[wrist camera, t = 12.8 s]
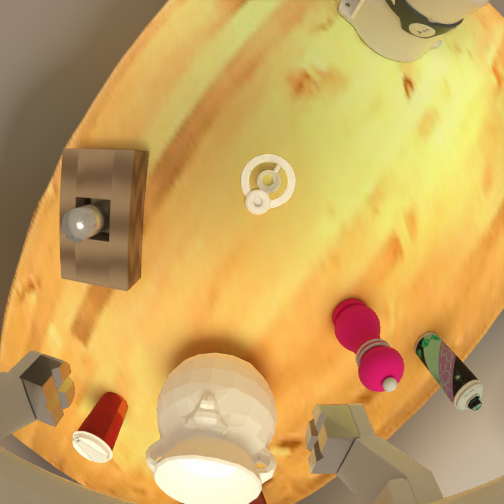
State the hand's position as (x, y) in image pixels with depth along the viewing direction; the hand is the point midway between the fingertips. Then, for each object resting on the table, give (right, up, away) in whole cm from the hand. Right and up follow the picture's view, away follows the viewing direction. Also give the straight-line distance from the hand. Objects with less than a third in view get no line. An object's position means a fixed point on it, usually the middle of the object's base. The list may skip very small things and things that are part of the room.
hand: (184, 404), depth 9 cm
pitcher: (-3, -18, +45) cm, 49 cm away
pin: (-21, +11, +37) cm, 43 cm away
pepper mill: (+18, -6, +42) cm, 46 cm away
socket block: (-21, +11, +38) cm, 44 cm away
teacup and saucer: (+1, +15, +37) cm, 40 cm away
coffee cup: (-27, -27, +48) cm, 62 cm away
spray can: (+36, -13, +44) cm, 58 cm away
